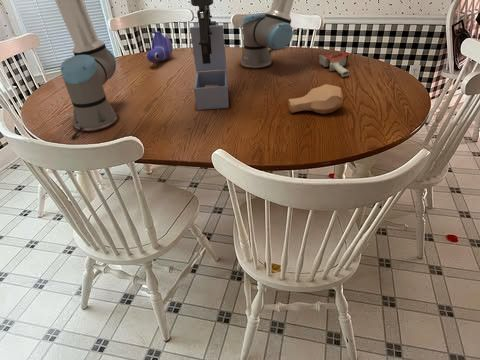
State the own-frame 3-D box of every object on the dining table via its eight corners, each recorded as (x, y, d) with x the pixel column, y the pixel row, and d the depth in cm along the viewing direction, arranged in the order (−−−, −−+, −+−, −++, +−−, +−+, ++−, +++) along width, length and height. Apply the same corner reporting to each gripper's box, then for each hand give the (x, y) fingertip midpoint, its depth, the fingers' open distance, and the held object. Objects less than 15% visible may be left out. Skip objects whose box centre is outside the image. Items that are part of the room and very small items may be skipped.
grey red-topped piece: (345, 82, 156) (359, 65, 169) (347, 70, 153) (362, 54, 165) (308, 74, 164) (324, 58, 176) (309, 63, 160) (326, 48, 173)
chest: (228, 107, 138) (227, 86, 132) (196, 109, 138) (193, 88, 132) (228, 89, 151) (226, 70, 146) (198, 91, 151) (196, 72, 146)
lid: (223, 25, 133) (222, 16, 139) (189, 27, 133) (191, 18, 139) (226, 69, 145) (226, 59, 151) (196, 71, 145) (196, 61, 151)
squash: (347, 114, 128) (348, 93, 121) (291, 124, 130) (290, 103, 123) (339, 97, 135) (340, 77, 129) (287, 107, 137) (285, 87, 131)
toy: (161, 63, 199) (140, 68, 177) (156, 30, 193) (134, 32, 170) (177, 62, 197) (158, 68, 175) (173, 29, 190) (153, 31, 168)
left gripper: (211, -4, 108) (217, 67, 121) (213, -14, 128) (218, 49, 140) (186, -3, 108) (195, 69, 121) (192, -13, 128) (199, 50, 140)
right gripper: (211, -28, 121) (217, 42, 136) (212, -34, 134) (218, 30, 149) (189, -27, 121) (198, 44, 136) (192, -33, 134) (200, 32, 149)
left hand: (207, 58), depth 130 cm, fingers open, 11 cm apart
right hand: (208, 37), depth 142 cm, fingers open, 3 cm apart
